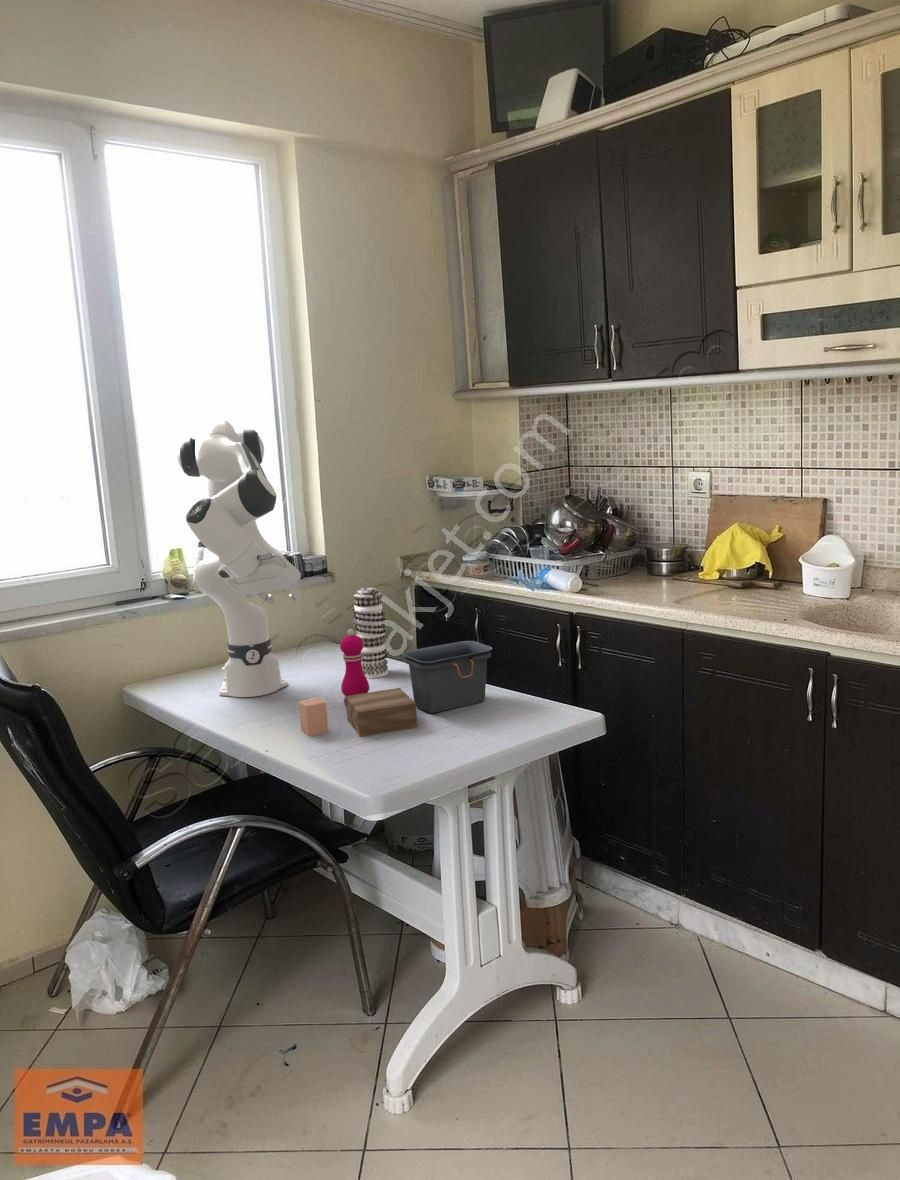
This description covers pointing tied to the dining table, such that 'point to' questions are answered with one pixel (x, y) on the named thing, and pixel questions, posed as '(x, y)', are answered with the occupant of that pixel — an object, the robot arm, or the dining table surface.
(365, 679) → the pepper mill
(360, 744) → the dining table surface
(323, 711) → the terracotta block
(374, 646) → the decorative candle
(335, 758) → the dining table surface
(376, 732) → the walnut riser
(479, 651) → the storage bin
